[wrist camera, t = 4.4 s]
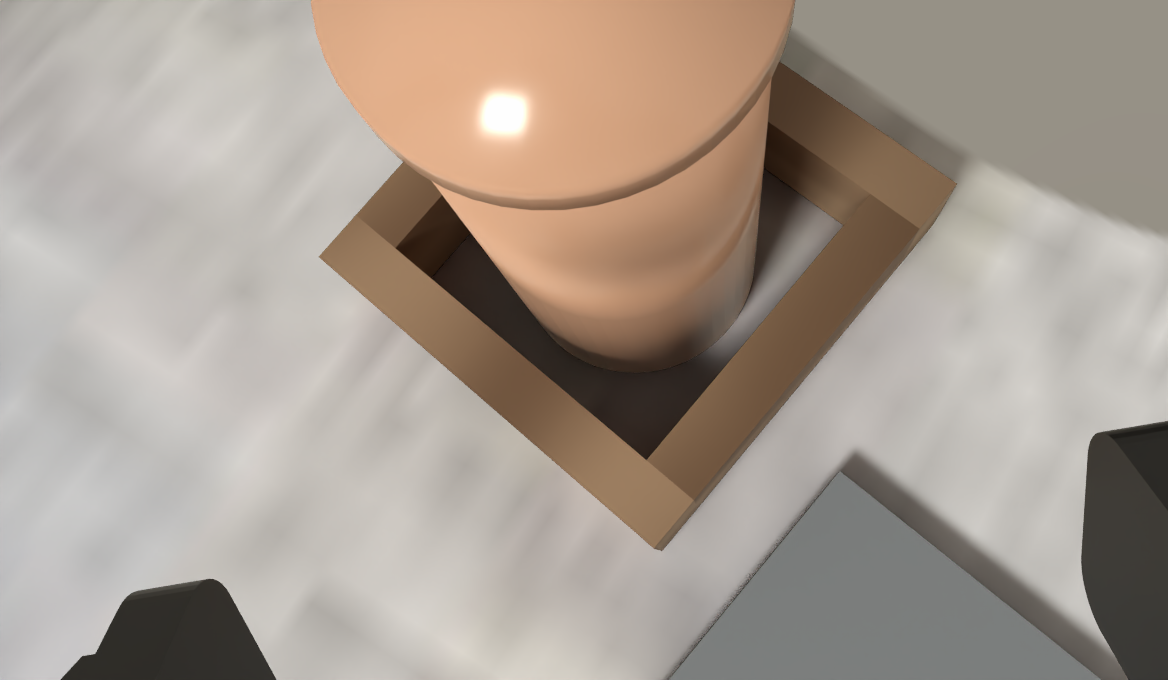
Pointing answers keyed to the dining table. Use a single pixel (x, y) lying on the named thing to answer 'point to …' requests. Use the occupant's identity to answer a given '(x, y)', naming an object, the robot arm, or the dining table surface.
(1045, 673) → the slate mat
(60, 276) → the dining table surface
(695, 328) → the peach column
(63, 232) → the dining table surface
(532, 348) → the dining table surface
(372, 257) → the walnut collar
